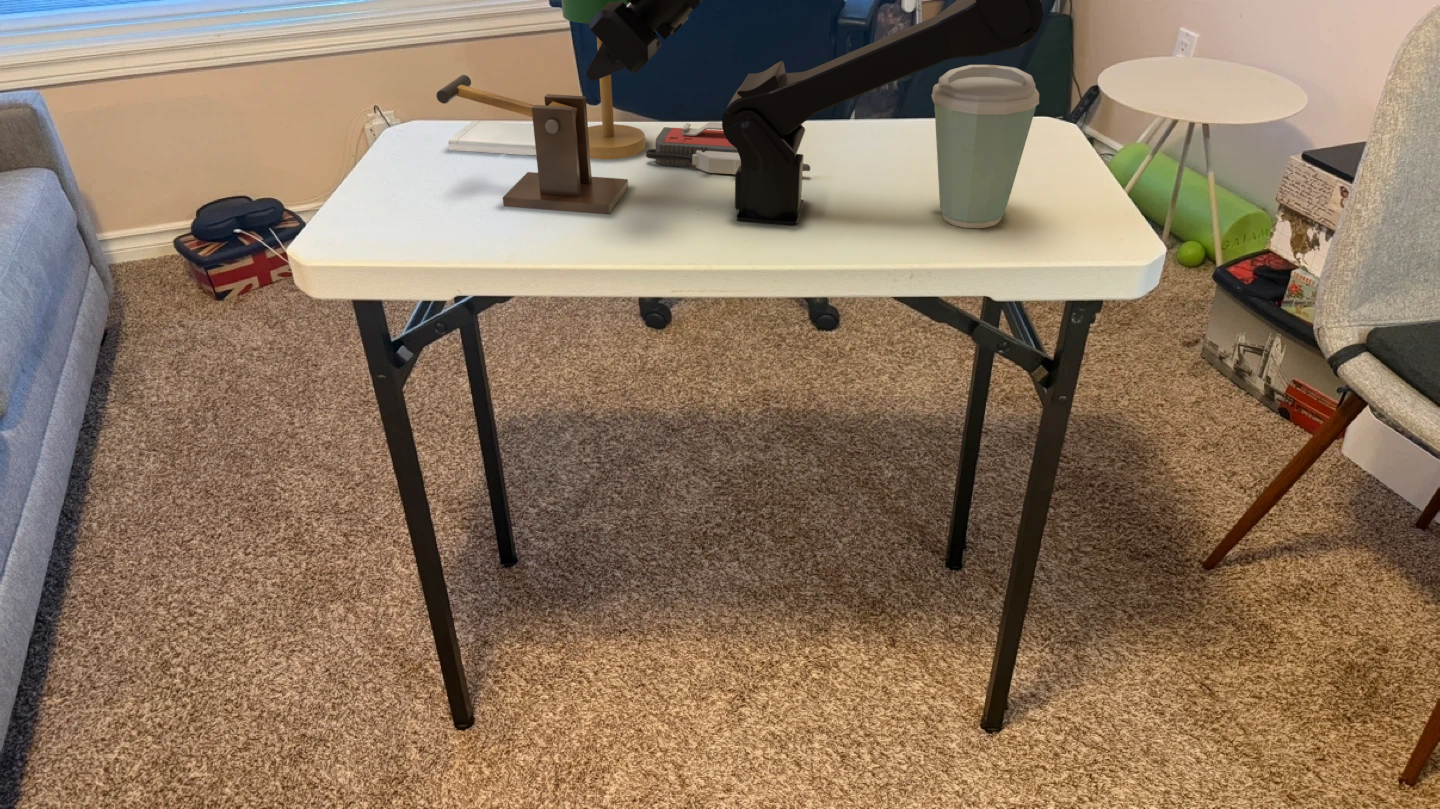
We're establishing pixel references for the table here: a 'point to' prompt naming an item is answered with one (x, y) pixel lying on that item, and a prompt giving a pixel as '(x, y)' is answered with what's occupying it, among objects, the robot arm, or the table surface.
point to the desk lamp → (605, 97)
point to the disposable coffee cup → (980, 139)
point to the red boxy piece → (697, 149)
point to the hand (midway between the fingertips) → (589, 77)
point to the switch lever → (485, 97)
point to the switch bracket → (564, 164)
